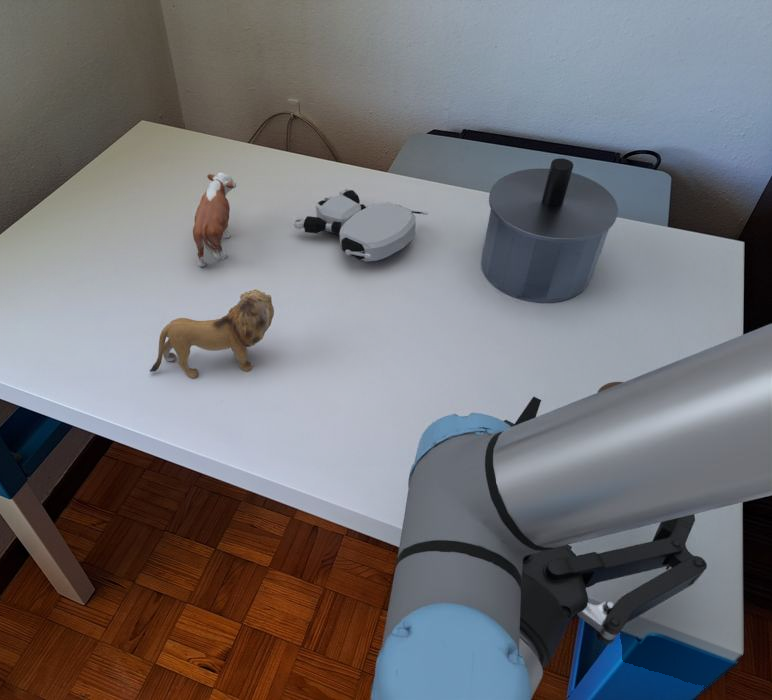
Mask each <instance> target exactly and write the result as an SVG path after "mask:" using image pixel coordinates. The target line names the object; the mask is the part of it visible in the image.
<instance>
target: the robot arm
mask: <svg viewBox="0 0 772 700" xmlns="http://www.w3.org/2000/svg"><path fill="white" fill-rule="evenodd" d="M622 382H623V383H621V384H618V385H616V386H613V387H611V388H608V389H606V390H603V391H601V392H598V391H597V392H598V393H597V392H595V393H593V394H590V395H589V396H586V397H583V398H581V399H578V400H576V401H573V402H571V403H568V404H566V405H564V406H561V407H558V408H555V409H553V410H550V411H548V412H545V413H543V414H541V415H538V416H537V414H538V412H539V409H540V405H541V403H542V399H540V398H538V397H537V396H533V397H532V398H531V399H530V401H529V402H528V403H527V405H526V406H525V408H524V409H523V411H522V412H521V414H520V415H519V417H518V418H517V420H516V421H515V422H512V421H510V420H507V419H504V420H502V419H500V418H497V417H495V416H492V415H489V414H484V413H478V412H470V413H469V414H468V415H462V416H460V415H459V414H456V413H451V414H447V415H445V416H443V417H440V418H438V419H436V420H435V421H433V422H432V423H431V424H429V425H428V427H426V428H425V430H424V431H423V433H422V435H421V437H420V438H419V441H418V445H417V448H416V449H417V450H416V454H415V457H414V461H413V464H412V465H411V468H410V471H409V475H408V483H407V484H408V485H407V486H408V487H407V488H408V489H407V496H406V502H405V508H404V515H403V522H402V526H401V527H402V528H401V532H400V533H401V534H400V540H399V545H398V546H399V547H398V553H397V559H396V565H395V569H394V575H393V581H392V586H391V591H390V598H389V601H388V602H389V603H388V609H387V613H386V620H385V626H384V632H383V638H382V642H381V648H380V650H379V651H378V655H377V658H376V661H375V669H374V677H373V681H372V684H371V685H370V690H371V693H370V700H532V698H533V697H534V694H535V693H536V690H537V689H538V686H539V685H540V682H541V681H542V679H543V676H544V675H543V674H544V671H543V669H544V668H546V667H547V666H549V664H550V662H551V660H552V659H553V656H554V654H555V653H556V651H557V649H558V646H559V645H560V643H561V641H562V639H563V637H564V635H565V633H566V631H567V629H568V627H569V625H570V623H571V622H572V621H573V620H575V619H578V618H580V619H581V620H583V622H585V623H587V624H588V625H589V626H590V627H591V628H593V629H595V631H596V637H597V639H598V640H599V642H601V643H603V644H606V645H609V644H612V643H613V642H614V641H615V639H617V637H618V635H619V634H620V632H621V631H622V630H623V629H624V627H625V626H626V624H628V623H629V622H631V621H633V620H634V619H636V618H638V617H640V616H642V615H643V614H645V613H646V612H648V611H649V610H651V609H653V608H655V607H657V606H658V605H660V604H662V603H663V602H665V601H667V600H669V599H670V598H673V597H674V596H675V595H677V594H679V593H681V592H682V591H684V590H686V589H687V588H689V587H691V586H693V585H694V584H695V582H696V581H697V580H698V579H699V578H700V577H701V576H702V575H703V573H704V572H705V570H707V567H708V566H707V562H706V560H705V559H703V558H702V557H700V556H698V555H693V554H692V553H691V552H690V551H689V550H688V549H687V546H686V543H687V540H688V539H689V536H690V533H691V531H692V529H693V526H694V524H695V521H696V514H700V513H705V512H709V511H713V510H717V509H721V508H725V507H729V506H733V505H737V504H741V503H745V502H749V501H754V500H758V499H762V498H765V497H767V498H768V497H771V496H772V323H769V324H767V325H766V324H765V325H764V326H762V327H758V328H757V329H754V330H752V331H748V332H746V333H744V334H741V335H739V336H736V337H734V338H732V339H729V340H726V341H724V342H721V343H719V344H717V345H713V346H711V347H709V348H706V349H704V350H701V351H699V352H697V353H694V354H691V355H689V356H686V357H684V358H681V359H679V360H676V361H673V362H670V363H669V364H666V365H664V366H661V367H657V368H656V369H653V370H650V371H648V372H646V373H643V374H642V375H638V376H636V377H633V378H631V379H629V380H626V381H622ZM658 523H659V525H658V528H657V530H656V532H655V534H654V536H653V539H652V540H651V541H649V542H642V543H638V544H634V545H630V546H625V547H621V548H617V549H612V550H608V551H604V552H598V553H597V552H596V551H592V552H588V553H583V554H578V555H577V554H576V553H575V552H574V551H573V550H572V548H573V546H571V545H573V544H575V543H576V544H577V543H580V542H581V543H582V542H584V541H588V540H593V539H597V538H601V537H605V536H610V535H614V534H618V533H622V532H626V531H630V530H635V529H638V528H639V529H640V528H642V527H647V526H650V525H654V524H655V525H656V524H658ZM665 567H666V568H665ZM661 568H662V569H663V568H665V571H664V572H662V573H660V574H659V575H657V576H655V577H653V578H651V579H650V580H648V581H646V582H644V583H643V584H641V585H639V586H637V587H635V588H634V589H632V590H630V591H628V592H627V593H625V594H624V595H622V596H621V597H620V598H619V599H618V600H617V601H616V602H615V603H614V602H613V601H611V600H603V601H601V602H599V603H598V604H597V603H596V604H594V603H591V602H589V596H588V592H587V591H588V590H587V588H590V587H593V586H594V585H596V584H598V583H602V582H607V581H610V580H615V579H618V578H623V577H627V576H631V575H632V576H633V575H636V574H641V573H645V572H649V571H653V570H657V569H661Z"/></svg>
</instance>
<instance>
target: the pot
mask: <svg viewBox="0 0 772 700" xmlns="http://www.w3.org/2000/svg"><path fill="white" fill-rule="evenodd" d="M608 233H609V230H608V231H606V232H605V233H603V234H601V235H600V236H597V237H595V238H592V239H588V240H584V241H578V242H551V241H545V240H539V239H535V238H532V237H528V236H525V235H523V234H520V233H518V232H516V231H514V230H512V229H510V228H509V227H507V226H506V225H504V224H503V223H502V222H501V221H499V220H498V219H497V217H496V216H495V215H494V214H493V212H492V210H491V209H490V211H489V216H488V222H487V228H486V233H485V238H484V243H483V247H482V254H481V259H480V260H481V261H480V264H481V265H480V266H481V270H482V272H483V275H484V276H485V278H486V279H487V280H488V282H489V283H491V285H493V287H494V288H497V289H498V290H499V291H501V292H502V293H504V294H506V295H509V296H511V297H513V298H516V299H519V300H523V301H525V302H530V303H531V302H532V303H540V304H550V303H561V302H564V301H568V300H571V299H574V298H575V297H577V296H579V295H580V294H582V293H583V292H584V291H585V290H586V289H587V288H588V286H589V284H590V282H591V280H593V276H594V273H595V271H596V268H597V265H598V262H599V259H600V256H601V253H602V250H603V248H604V244H605V242H606V239H607V236H608Z"/></svg>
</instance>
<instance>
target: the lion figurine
mask: <svg viewBox="0 0 772 700" xmlns="http://www.w3.org/2000/svg"><path fill="white" fill-rule="evenodd" d="M239 298H240V300H239V301H238V302H237V304H235V305H233V307H231V308H229V310H228V313H227V314H226V315H224V316H222V317H221V318H216V319H207V320H195V319H191V318H188V317H187V318H186V317H179V318H176V319H173V320H171V321H170V322H169V323H168V324H166V325H165V326H164V327H163V329H162V330H161V332H160V335H159V339H158V351H157V352H158V355H157V358H156V361H155V362H154V364H153V365H152V367H151V368H150V369H149V373H152V372H157V371H158V370H159V369H160V366H161V364H162V361H163V358H164V360H166V361H167V362H174V361H175V360H176V359H177V357H178V362H177V365H178V366H179V367H180V368H181V369H182V371H184V373H185V375H186V376H187V377H188V378H190V379H195V378H197V377H198V376H199V370H198V369H197V368H193V367H190V366H189V365H188V361H189V357H190V354H191V347H192V346H194V347H197V348H200V349H202V350H206V351H212V352H213V351H214V352H218V351H224V350H228V349H231V351H232V353H233V354H234V355H235V358H236V360H237V364H238V366H239V368H240V369H241V370H242V371H245V372H249V371H251V370H252V368H253V365H252V362H250V361H248V360H247V359H248V358H247V357H248V348H251V347H253V346H255V345H256V344H257V343H259V342H260V341H262V340H263V339H264V336H265V334H266V332H267V330H268V329H269V328H270V327H271V325H272V321H273V318H274V316H275V309H274V308H275V307H274V305H273V302H272V296H271V294H267V293H266V292H262V291H260V290H258V289H253V290H250V291H245V292H243V293H241V294H240V295H239ZM167 338H168V339H167ZM166 340H167V341H166ZM172 349H173V350H174V352H171V351H172ZM175 353H176V354H175Z"/></svg>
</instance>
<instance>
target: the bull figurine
mask: <svg viewBox="0 0 772 700" xmlns="http://www.w3.org/2000/svg"><path fill="white" fill-rule="evenodd" d="M207 179H208V180H209V181H211V182H210V183H209V185H208V187H207V188H206V190H205V191H204V194H202V196H201V198H200V201H199V204H198V207H197V208H196V212H195V215H194V225H193V228H192V237H193V241H194V243H195V245H196V248H197V258H198V267H201V268H204V267H206V264H207V263H206V262H205V260H204V256H205V255H204V254H205V251H204V250H205V249H206V250H207V251H212V255H213V258H214V259H216V260H217V261H219V260H225V259H227V258H228V255H227V253H226V252H224V251H223V247H222V241H223V238H225V239H230V238H231V234H230V233H229V231H228V227H229V219H230V210H231V209H230V207H231V206H230V203H229V200H228V198H227V197H226V196H227V195H228V193H229V192H231V191H232V190H234V189H236V187H237V181H236V180H234V179H233V177H232V176H231V175H229V174H226V173H224V172H221V171H220V172H218V173H217V174H216V175H215V174H213V173H209V174H207Z"/></svg>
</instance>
